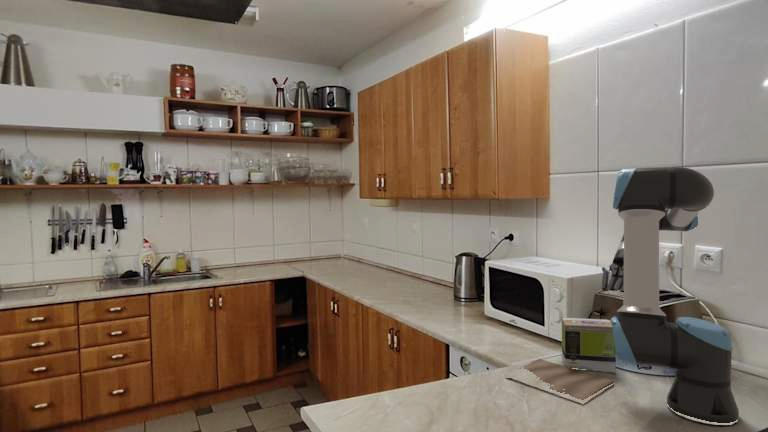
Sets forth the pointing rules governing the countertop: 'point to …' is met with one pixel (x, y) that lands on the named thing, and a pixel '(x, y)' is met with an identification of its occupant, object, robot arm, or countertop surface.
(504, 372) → the countertop surface
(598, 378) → the walnut board
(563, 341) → the tea box
